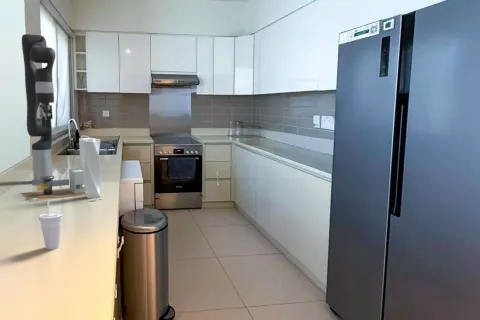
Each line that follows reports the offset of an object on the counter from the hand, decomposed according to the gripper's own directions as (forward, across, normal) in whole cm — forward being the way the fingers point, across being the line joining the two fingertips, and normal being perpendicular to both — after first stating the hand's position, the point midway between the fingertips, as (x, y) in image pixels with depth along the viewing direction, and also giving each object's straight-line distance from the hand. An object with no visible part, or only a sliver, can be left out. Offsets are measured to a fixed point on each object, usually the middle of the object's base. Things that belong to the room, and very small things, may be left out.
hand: (46, 127), depth 201 cm
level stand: (+29, +12, +9) cm, 33 cm away
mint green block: (+29, +17, -10) cm, 35 cm away
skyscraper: (+30, +26, +12) cm, 42 cm away
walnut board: (+30, +11, 0) cm, 32 cm away
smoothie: (+30, +83, -17) cm, 90 cm away
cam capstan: (+29, +12, -4) cm, 31 cm away
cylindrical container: (+30, +8, +16) cm, 35 cm away
